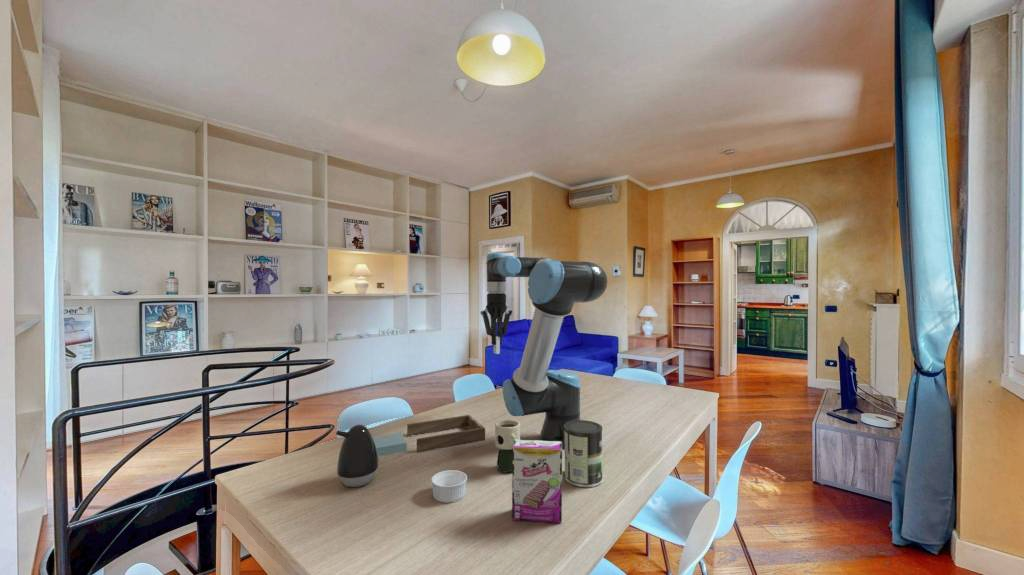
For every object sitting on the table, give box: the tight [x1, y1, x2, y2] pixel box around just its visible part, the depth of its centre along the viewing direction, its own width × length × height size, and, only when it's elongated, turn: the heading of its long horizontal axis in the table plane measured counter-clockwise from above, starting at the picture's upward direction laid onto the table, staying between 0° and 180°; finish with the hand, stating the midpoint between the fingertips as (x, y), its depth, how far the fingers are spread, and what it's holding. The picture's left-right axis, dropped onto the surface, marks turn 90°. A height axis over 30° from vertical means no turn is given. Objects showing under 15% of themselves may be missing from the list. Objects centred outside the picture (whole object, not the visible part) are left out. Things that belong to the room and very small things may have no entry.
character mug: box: [494, 419, 521, 473], centre depth 111 cm, size 11×7×13 cm, turn 22°
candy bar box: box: [511, 439, 563, 524], centre depth 88 cm, size 11×5×16 cm, turn 84°
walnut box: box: [406, 414, 486, 453], centre depth 135 cm, size 16×23×4 cm
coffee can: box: [564, 419, 604, 488], centre depth 105 cm, size 10×10×14 cm
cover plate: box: [372, 432, 408, 457], centre depth 126 cm, size 10×11×3 cm
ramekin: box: [430, 469, 468, 504], centre depth 97 cm, size 9×9×4 cm
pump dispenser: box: [335, 424, 379, 488], centre depth 104 cm, size 10×10×15 cm
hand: (496, 353), depth 152 cm, fingers closed
